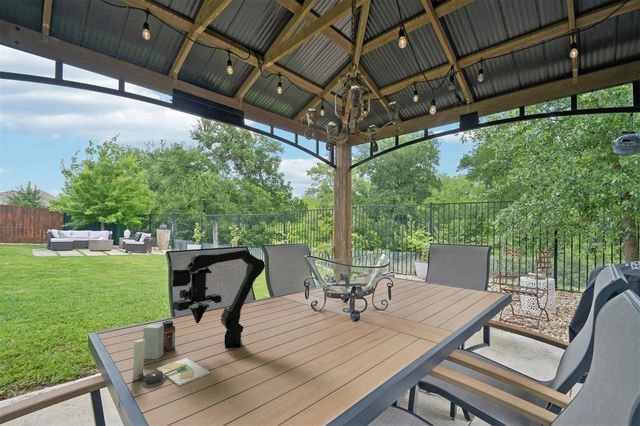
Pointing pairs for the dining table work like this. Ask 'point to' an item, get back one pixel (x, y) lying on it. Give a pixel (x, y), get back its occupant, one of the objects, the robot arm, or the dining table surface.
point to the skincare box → (153, 341)
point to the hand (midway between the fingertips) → (197, 323)
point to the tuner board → (180, 373)
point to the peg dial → (139, 365)
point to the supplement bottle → (169, 336)
